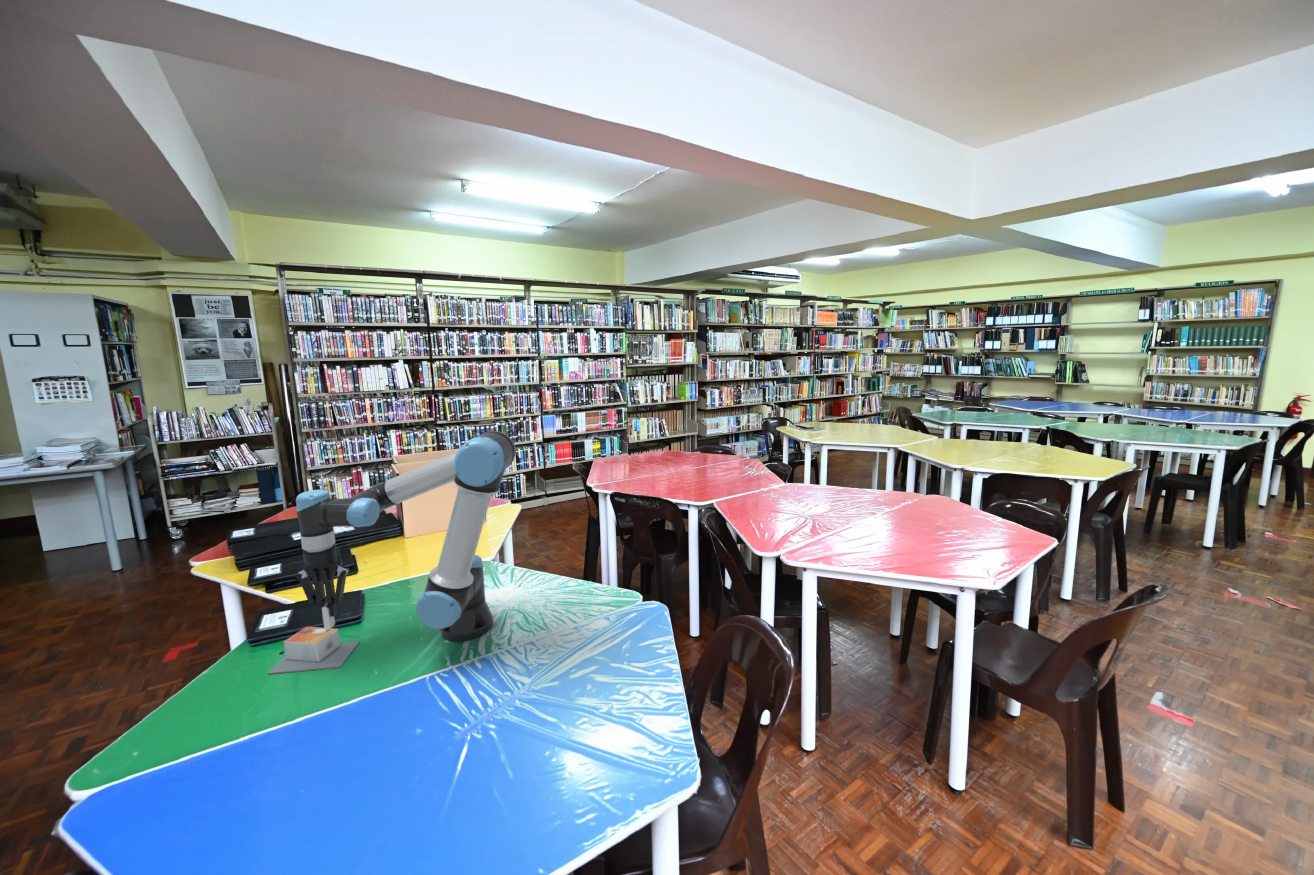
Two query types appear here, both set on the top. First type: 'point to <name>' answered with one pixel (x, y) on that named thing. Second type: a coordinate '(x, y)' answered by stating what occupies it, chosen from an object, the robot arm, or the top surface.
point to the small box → (311, 644)
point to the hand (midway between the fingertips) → (329, 626)
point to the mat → (328, 662)
